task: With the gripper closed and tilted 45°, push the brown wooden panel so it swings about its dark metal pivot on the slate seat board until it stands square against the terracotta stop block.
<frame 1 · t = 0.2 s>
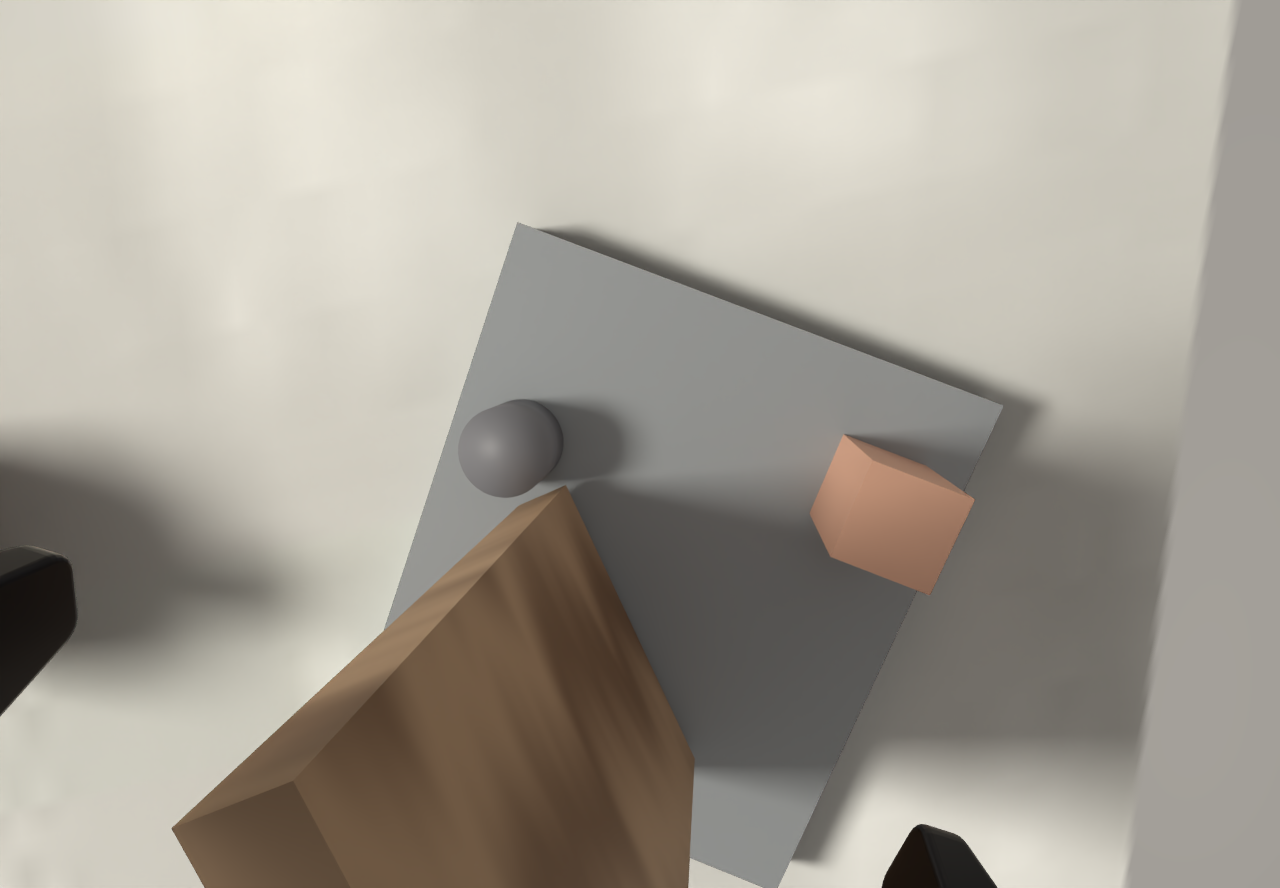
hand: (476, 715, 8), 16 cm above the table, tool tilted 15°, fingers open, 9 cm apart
seat board: (657, 559, 24), on the table
brown wooden panel: (558, 776, 15), point 9 cm above the table, hinge at -45.0°
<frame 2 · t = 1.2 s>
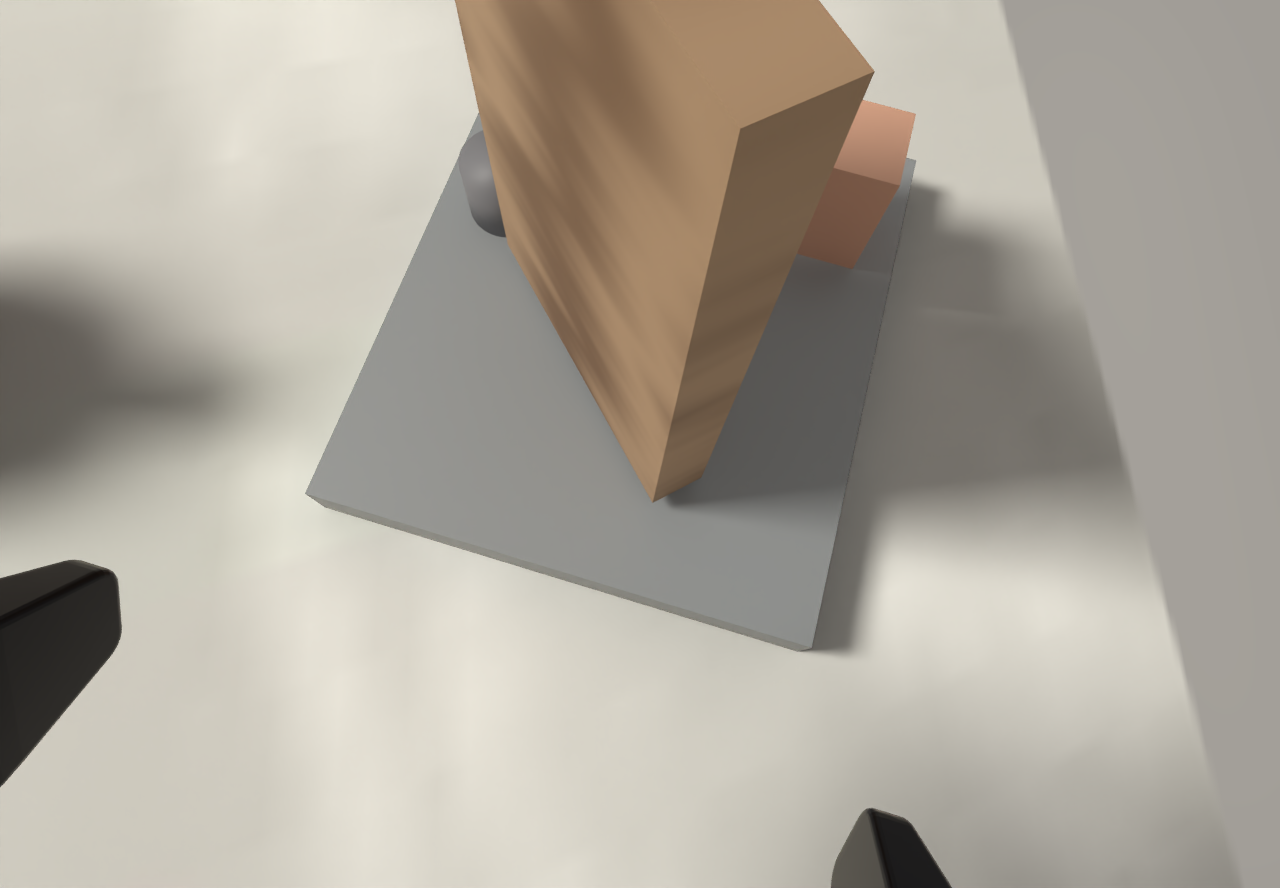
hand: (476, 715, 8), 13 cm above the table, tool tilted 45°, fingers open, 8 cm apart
seat board: (637, 334, 24), on the table
brown wooden panel: (597, 202, 15), point 9 cm above the table, hinge at -45.0°
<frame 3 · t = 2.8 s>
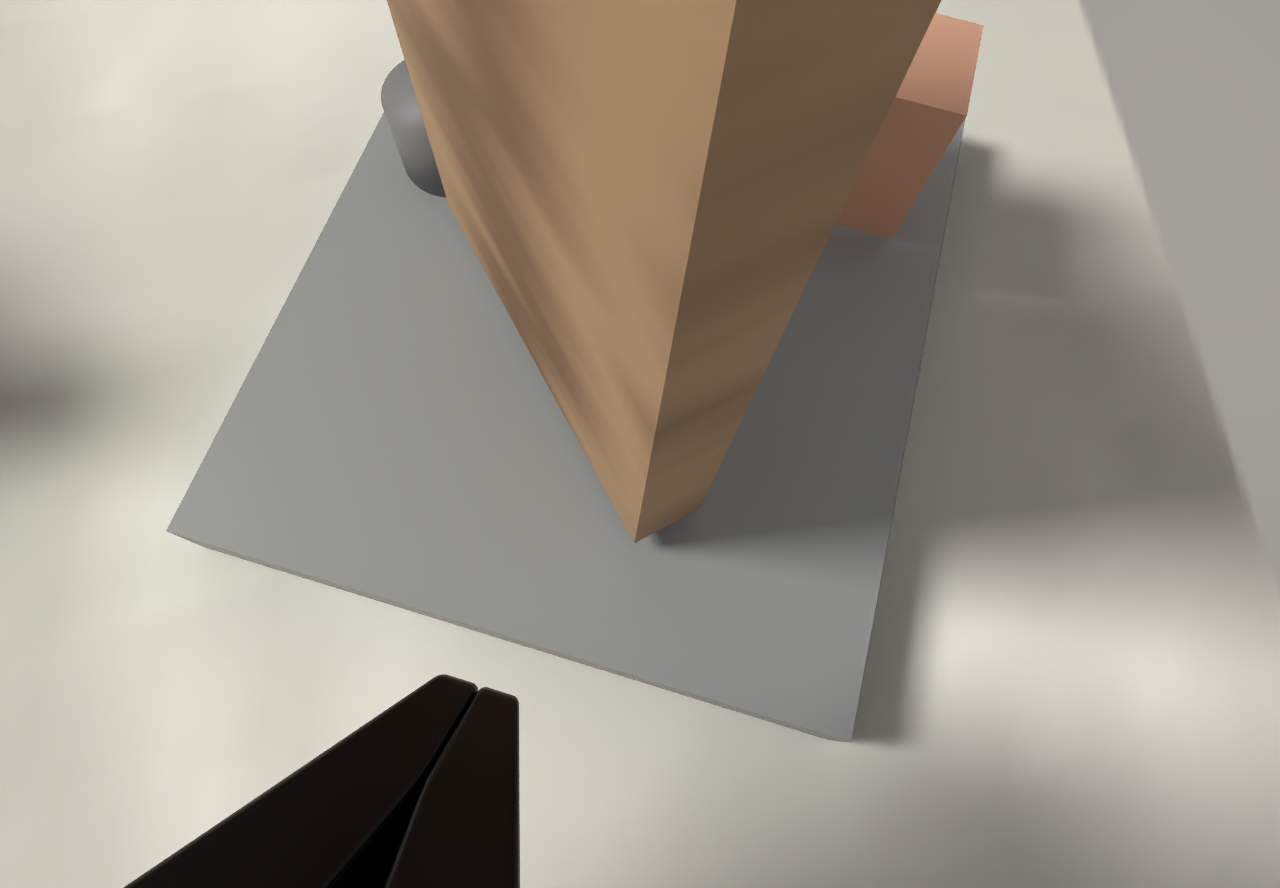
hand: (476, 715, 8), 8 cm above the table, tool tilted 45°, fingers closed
seat board: (618, 322, 19), on the table
brown wooden panel: (541, 99, 10), point 9 cm above the table, hinge at -45.0°
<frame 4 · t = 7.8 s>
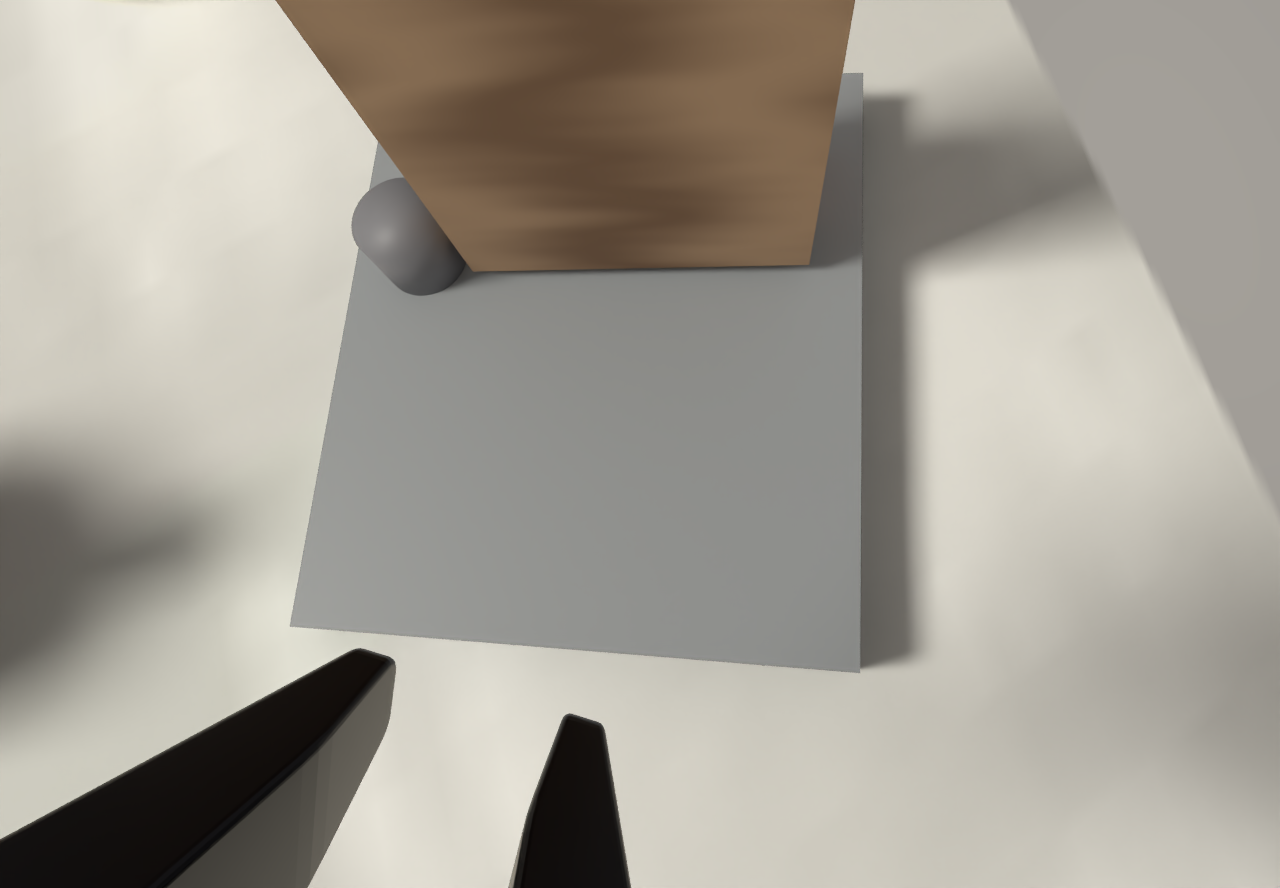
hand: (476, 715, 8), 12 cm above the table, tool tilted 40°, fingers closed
seat board: (599, 357, 22), on the table
brown wooden panel: (584, 42, 13), point 9 cm above the table, hinge at 1.7°, touching seat board
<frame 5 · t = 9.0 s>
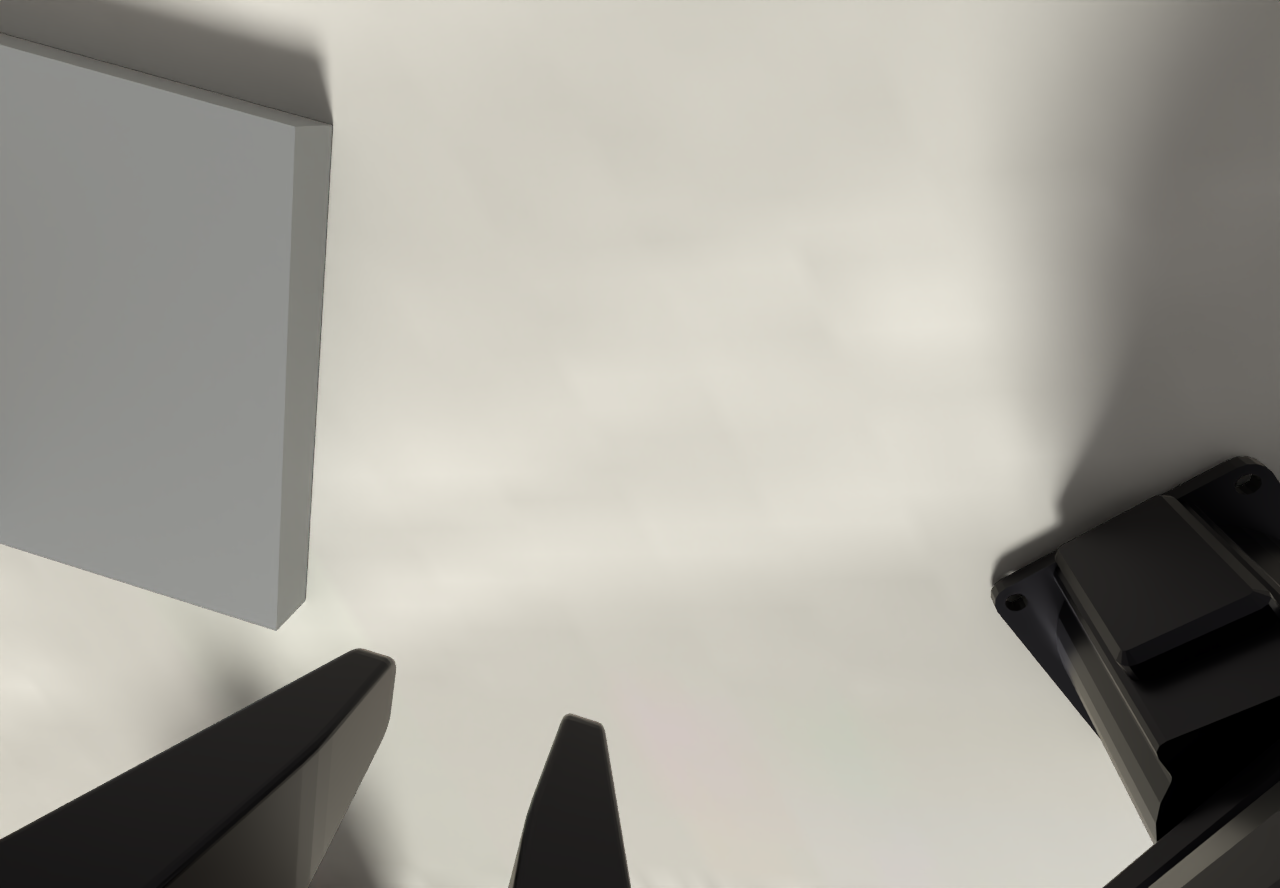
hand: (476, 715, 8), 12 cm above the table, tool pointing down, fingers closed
seat board: (45, 316, 21), on the table
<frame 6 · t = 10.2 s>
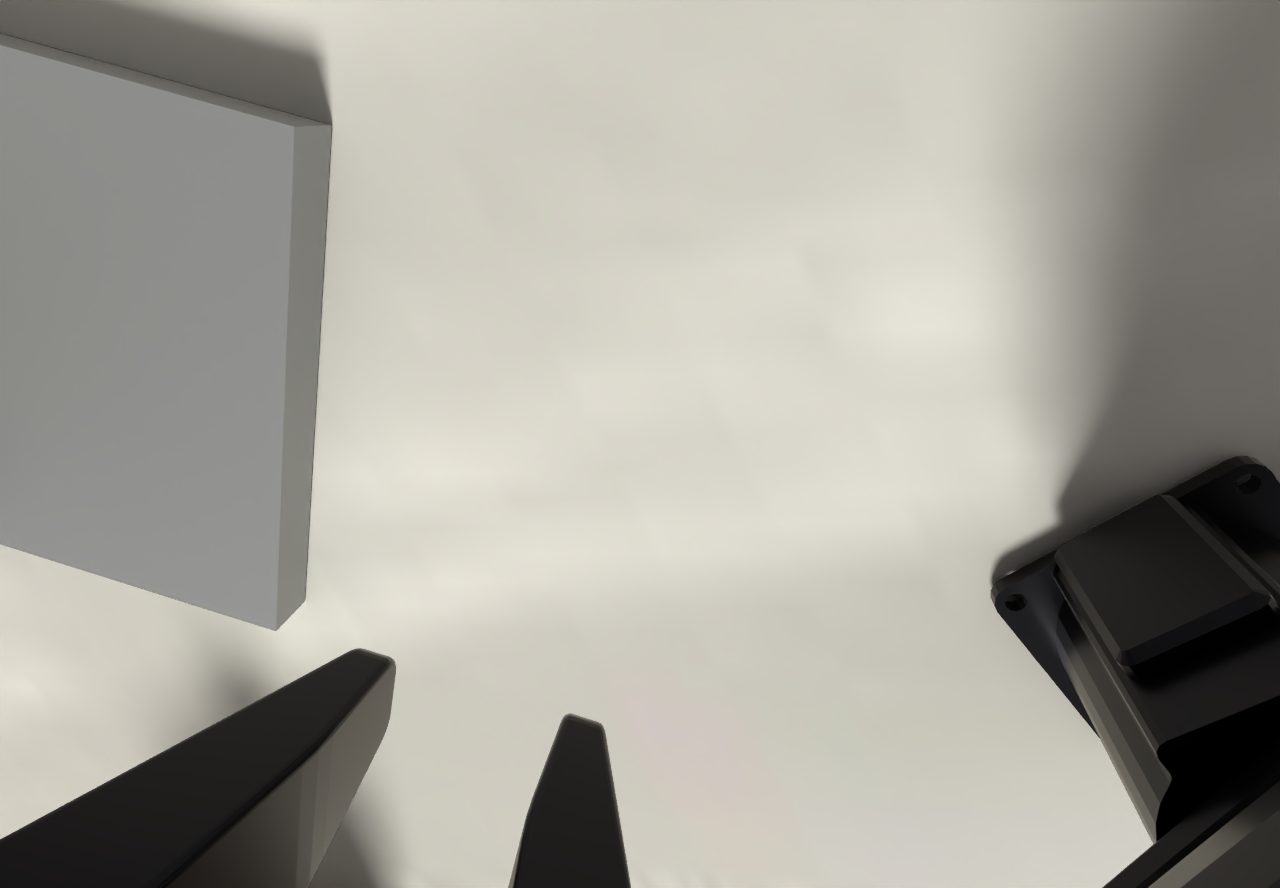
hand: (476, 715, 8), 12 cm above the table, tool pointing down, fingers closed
seat board: (44, 317, 21), on the table
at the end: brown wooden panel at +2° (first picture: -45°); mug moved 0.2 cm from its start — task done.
